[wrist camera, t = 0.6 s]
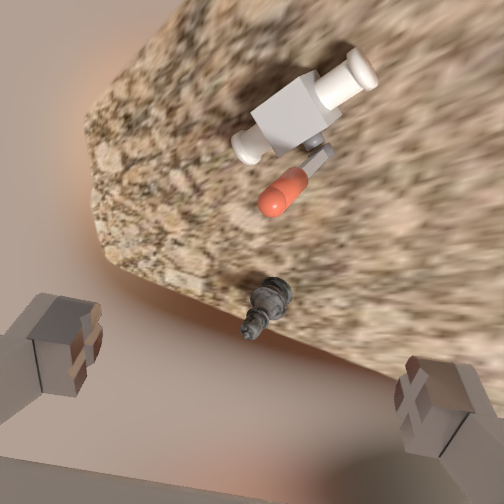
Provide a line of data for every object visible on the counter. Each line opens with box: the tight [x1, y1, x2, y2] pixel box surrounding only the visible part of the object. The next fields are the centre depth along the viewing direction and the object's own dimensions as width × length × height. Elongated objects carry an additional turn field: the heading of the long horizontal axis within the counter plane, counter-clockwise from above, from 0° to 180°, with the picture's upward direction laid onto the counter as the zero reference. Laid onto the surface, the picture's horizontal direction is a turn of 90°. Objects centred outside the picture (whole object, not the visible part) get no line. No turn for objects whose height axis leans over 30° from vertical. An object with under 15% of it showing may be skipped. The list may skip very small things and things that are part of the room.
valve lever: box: [258, 143, 335, 217], centre depth 45 cm, size 3×3×18 cm
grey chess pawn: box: [240, 277, 293, 340], centre depth 63 cm, size 6×6×12 cm
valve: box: [231, 47, 378, 166], centre depth 50 cm, size 18×7×6 cm, turn 126°
